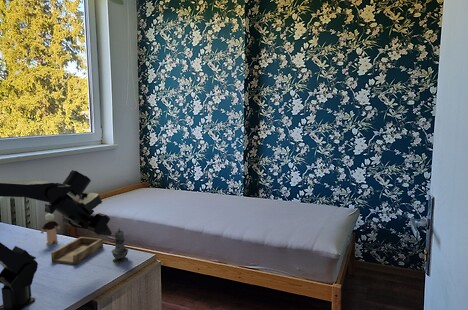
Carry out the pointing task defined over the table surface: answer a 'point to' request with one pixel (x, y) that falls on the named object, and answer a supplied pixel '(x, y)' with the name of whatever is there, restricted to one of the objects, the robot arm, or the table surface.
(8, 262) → the robot arm
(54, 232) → the grandmother figurine
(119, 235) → the grey tiered stone figure
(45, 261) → the table surface
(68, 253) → the open-ended wooden tray
